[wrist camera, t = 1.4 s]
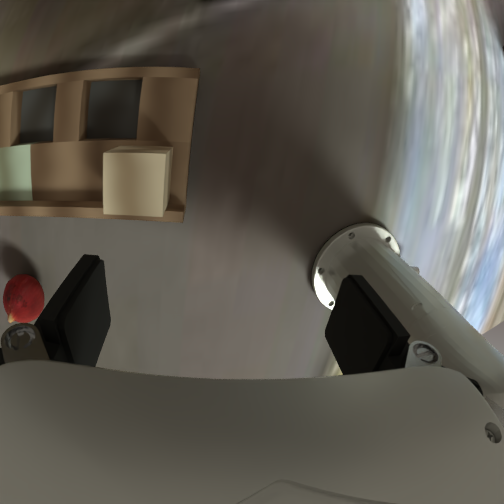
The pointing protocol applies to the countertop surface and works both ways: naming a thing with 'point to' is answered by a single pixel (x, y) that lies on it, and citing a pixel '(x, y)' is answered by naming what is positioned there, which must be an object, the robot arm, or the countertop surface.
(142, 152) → the block
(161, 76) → the track
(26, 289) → the onion
